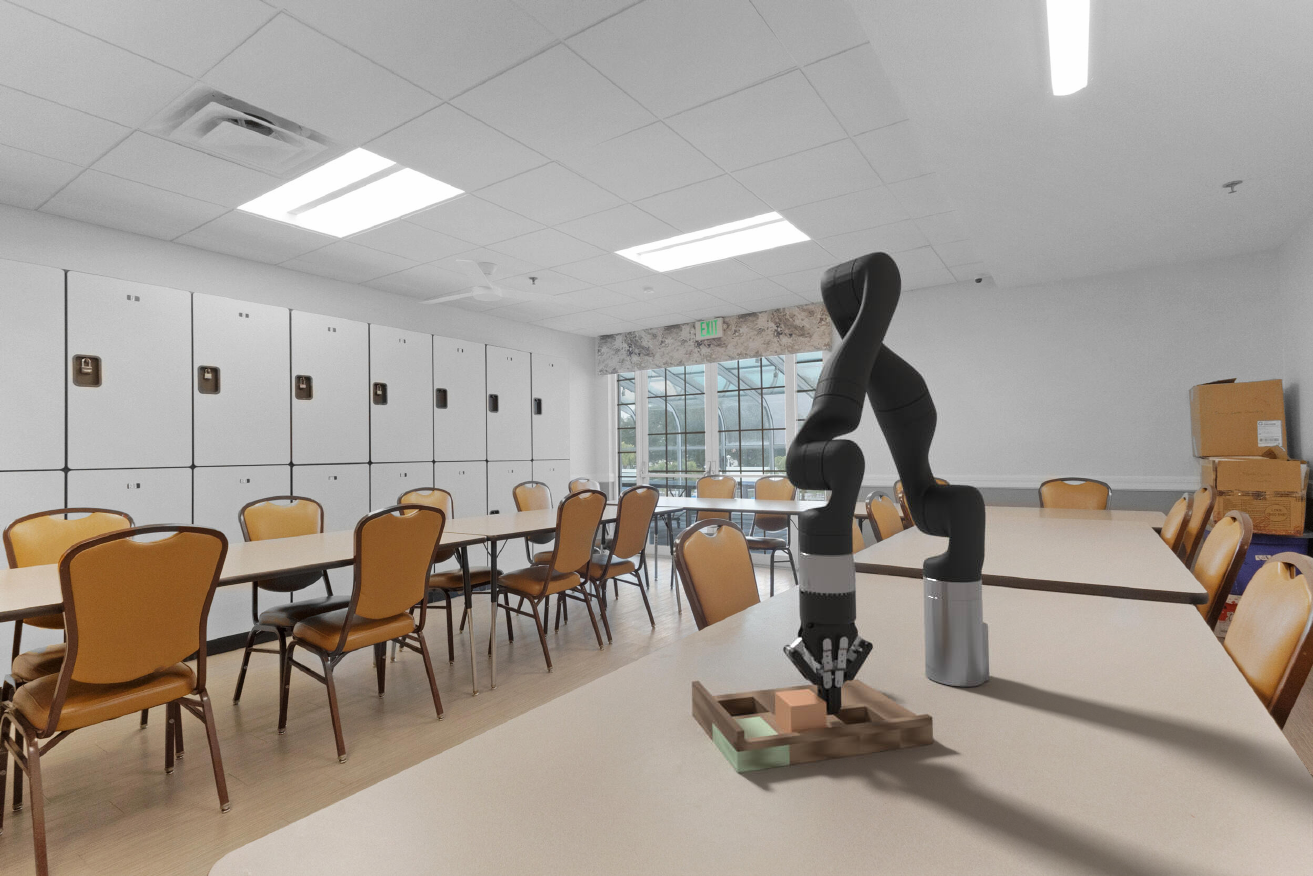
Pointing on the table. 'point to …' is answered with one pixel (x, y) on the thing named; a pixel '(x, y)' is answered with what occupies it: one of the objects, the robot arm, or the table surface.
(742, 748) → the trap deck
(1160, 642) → the table surface
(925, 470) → the robot arm
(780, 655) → the table surface
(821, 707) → the terracotta block
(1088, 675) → the table surface
